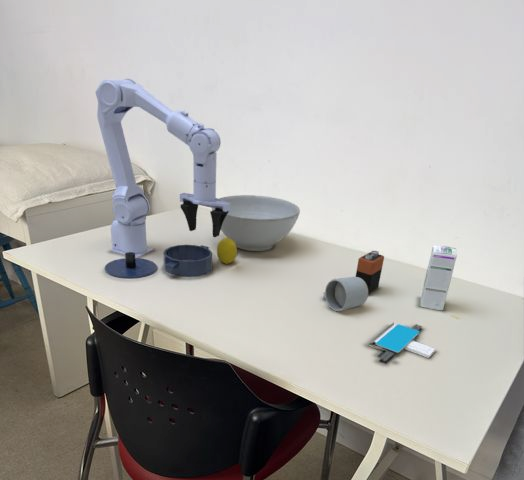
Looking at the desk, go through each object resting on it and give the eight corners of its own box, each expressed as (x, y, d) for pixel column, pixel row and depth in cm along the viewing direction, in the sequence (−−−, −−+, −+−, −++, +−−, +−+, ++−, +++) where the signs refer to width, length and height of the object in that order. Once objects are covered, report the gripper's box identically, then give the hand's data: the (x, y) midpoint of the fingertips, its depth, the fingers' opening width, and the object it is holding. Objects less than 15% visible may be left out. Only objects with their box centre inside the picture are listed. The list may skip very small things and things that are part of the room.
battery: (378, 288, 133) (385, 252, 128) (367, 295, 128) (374, 258, 123) (364, 283, 135) (370, 248, 130) (352, 290, 130) (358, 254, 125)
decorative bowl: (245, 226, 173) (247, 190, 166) (311, 245, 160) (316, 207, 154) (192, 244, 153) (192, 204, 147) (263, 267, 141) (266, 224, 134)
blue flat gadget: (413, 374, 97) (415, 367, 96) (358, 353, 103) (360, 346, 102) (447, 337, 111) (449, 331, 110) (397, 320, 117) (398, 314, 116)
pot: (148, 275, 130) (147, 257, 128) (185, 255, 145) (185, 239, 142) (190, 286, 126) (190, 268, 124) (224, 264, 141) (225, 247, 138)
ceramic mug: (368, 309, 121) (373, 279, 117) (343, 316, 117) (348, 286, 113) (338, 293, 128) (342, 265, 125) (314, 300, 124) (317, 270, 120)
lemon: (237, 262, 143) (238, 235, 139) (234, 269, 138) (235, 241, 134) (218, 260, 143) (219, 233, 139) (215, 267, 138) (215, 239, 134)
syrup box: (443, 311, 123) (458, 255, 116) (418, 306, 124) (432, 251, 117) (442, 302, 128) (457, 247, 120) (419, 298, 129) (432, 244, 122)
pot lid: (94, 273, 129) (92, 256, 127) (126, 258, 140) (125, 242, 137) (136, 284, 125) (135, 267, 122) (166, 268, 135) (166, 251, 133)
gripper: (172, 178, 126) (173, 230, 133) (220, 188, 121) (218, 242, 128) (188, 174, 132) (188, 224, 139) (235, 183, 126) (233, 235, 133)
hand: (204, 233), depth 134 cm, fingers open, 7 cm apart
